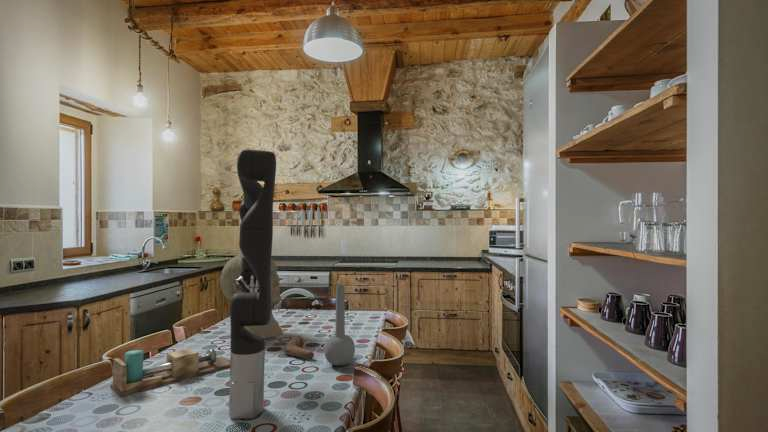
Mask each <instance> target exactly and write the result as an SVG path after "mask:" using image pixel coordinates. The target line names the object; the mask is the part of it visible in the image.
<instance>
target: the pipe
mask: <svg viewBox="0 0 768 432" xmlns="http://www.w3.org/2000/svg"><path fill="white" fill-rule="evenodd" d="M304 345H305V340H304V338H303V337H302V336H300V335H294V336H293V337H291V339H290V341H289V342H288V344H287V346H286V347H285V350H284V354H285V355H288V356H292V357H294V358H297V359H298V358H299V359H302V360H305V361H310V360H311V359H313V358H314V356H315V354H314V352H313V351H312V350H308V349H306V348H304Z"/></svg>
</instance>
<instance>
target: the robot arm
mask: <svg viewBox="0 0 768 432" xmlns="http://www.w3.org/2000/svg"><path fill="white" fill-rule="evenodd" d="M236 159H237V161H236V170H237V176H238V180H239V183H240V187H241V188H242V189H241V190H242V194H243V201H242V202H241V203H240V205H239V207H238V215H239V217H240V221H241V222H240V225H239V242H238V243H239V244H238V245H239V249H240V252H241V254H242V273H241V277H239V278H238V279H235V283H236V284H237V285H238V287H239V288H240V289H241V291H242V292H244V293H236V294H234V296H233V297H232V299H231V301H230V306H229V307H230V308H229V317H230V318H229V319H230V320H229V321H230V359H229V360H230V367H229V394H228V395H229V396H228V397H229V398H228V399H229V401H228V402H229V403H228V405H229V406H228V414H229V418H230V419H238V420H239V419H254V418H255V417H256V416H258V415H260V414H261V413H262V412H263V411H264V408H265V407H264V402H265V401H264V400H265V398H264V397H265V394H264V393H265V360H266V359H265V358H266V356H265V355H266V339H264V338H263V337H261V336H258V335H255V334H253V333H251V332H249V331H248V330H246V329H245V327H244V326H263V325H267V324H268V322H269V320H270V316H271V257H272V251H273V238H274V237H273V235H274V233H273V231H274V229H273V228H274V218H273V217H274V216H273V215H274V213H273V212H274V195H275V185H276V174H277V157H276V154H275V153H274V152H273V151H270V150H269V151H268V150H260V149H242V150H240V151H239V152H238V155H237V158H236ZM260 182H264V184H263V185H262V184H261V183H260ZM243 280H244V281H243ZM243 282H245V285H246V286H245V285H244V283H243ZM257 292H259V293H257Z"/></svg>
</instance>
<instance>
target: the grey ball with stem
mask: <svg viewBox="0 0 768 432" xmlns="http://www.w3.org/2000/svg"><path fill="white" fill-rule="evenodd" d="M345 286H346V285H345V284H337V285H336V297H335V299H336V300H335V326H334V327H335V331H334V333H333V335H331V336H329V337H328V338H327V339H326V341H325V344H324V349H323V351H324V352H323V353H324V357H325V359H326V361H327V362H328V363H329V364H331V365H333V366H336V367H341V366H342V367H343V366H346V365H348V364H349V363H350V362H351V361H352V360H353V358H354V356H355V353H356V346H355V342H354V340H353V338H352V337H351V336H350V335H348V334H345V333H346V332H345V331H346V330H345V328H346V327H345V325H346V324H345V323H346V321H345V318H346V314H345V313H346V305H345V304H346V301H345V300H346V298H345V297H346V294H345V293H346V287H345Z"/></svg>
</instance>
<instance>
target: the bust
mask: <svg viewBox="0 0 768 432" xmlns="http://www.w3.org/2000/svg"><path fill="white" fill-rule="evenodd" d="M241 273H242V253H241V254H237V255H235V256H233V257H231V258H230V259H228V261H227V262H226V263H225V264H224V266H223V269H222V270H221V275H220V277H219V281H220V282H219V283H220V289H221V291H222V293H223V295H224V297H225V298H226V299H227V300H228V301H230V302H231V299H232V297H233V296H234V294H236V293H244V292H242V291H241V289H240V288H239V287H238V285H237V284H236V283H235V279H238V278H239V277H241ZM243 281H244V280H243ZM243 283H244V285H245V282H243ZM245 286H246V285H245ZM280 289H281V287H280V276H279V274H278V265H277V263H276V262H275V260H274V258H273V257H272V256H271V316H270V320H269V322H268V324H267V325H263V326H244V327H245V329H246V330H248V331H249V332H251V333H253V334H255V335H258V336H261V337H263V338H264V340H266V339H270V338H272V337H276V336H279V335H281V334H282V333H283V332H282V328H281V326H280V324H279V321H278V320H276V318H275V317H274V315H273V308H274V307H276V305H278V304H279V303H281V301H282V296H281V294H280ZM257 293H259V292H257Z"/></svg>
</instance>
